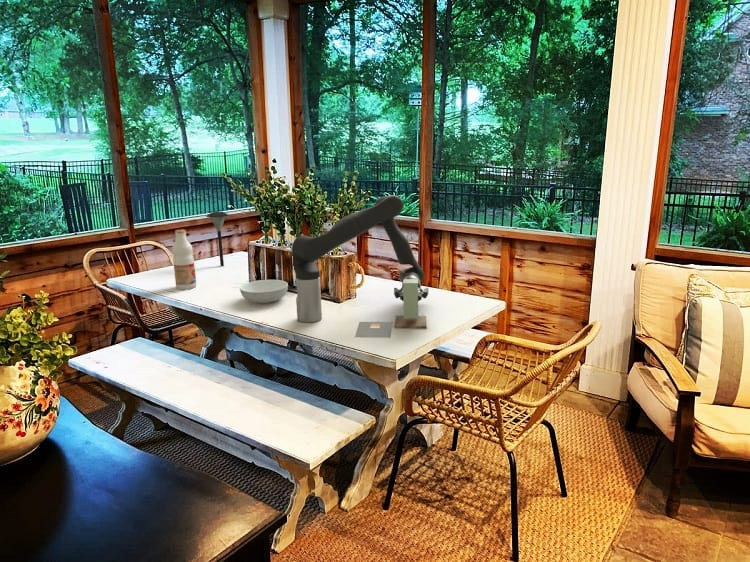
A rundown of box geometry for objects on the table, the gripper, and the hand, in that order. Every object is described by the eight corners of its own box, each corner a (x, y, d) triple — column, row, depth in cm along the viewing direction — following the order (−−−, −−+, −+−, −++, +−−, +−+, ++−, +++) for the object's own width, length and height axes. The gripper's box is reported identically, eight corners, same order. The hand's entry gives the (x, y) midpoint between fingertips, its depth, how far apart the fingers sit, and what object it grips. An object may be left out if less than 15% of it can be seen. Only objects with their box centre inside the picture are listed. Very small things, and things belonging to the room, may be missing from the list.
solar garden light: (216, 269, 307) (211, 214, 299) (207, 266, 316) (201, 212, 308) (237, 266, 315) (232, 212, 307) (227, 262, 324) (222, 210, 316)
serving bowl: (267, 291, 266) (266, 276, 264) (298, 298, 253) (297, 284, 251) (231, 301, 250) (229, 286, 249) (262, 310, 237) (260, 294, 236)
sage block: (403, 318, 216) (403, 283, 212) (403, 313, 221) (403, 279, 217) (418, 318, 215) (418, 283, 211) (418, 313, 220) (418, 279, 217)
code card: (354, 337, 205) (354, 337, 205) (359, 321, 221) (359, 321, 221) (390, 338, 204) (390, 337, 204) (392, 322, 220) (392, 321, 220)
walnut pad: (394, 328, 213) (394, 326, 213) (395, 318, 225) (395, 315, 225) (426, 328, 212) (426, 326, 212) (426, 318, 224) (426, 315, 224)
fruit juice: (173, 287, 275) (167, 230, 268) (192, 283, 281) (187, 227, 273) (179, 291, 268) (173, 232, 261) (199, 287, 273) (193, 230, 266)
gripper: (393, 277, 229) (391, 289, 213) (429, 277, 228) (430, 289, 212) (393, 294, 231) (391, 308, 215) (429, 295, 230) (429, 308, 214)
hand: (410, 298), depth 214 cm, fingers closed on sage block, 5 cm apart
